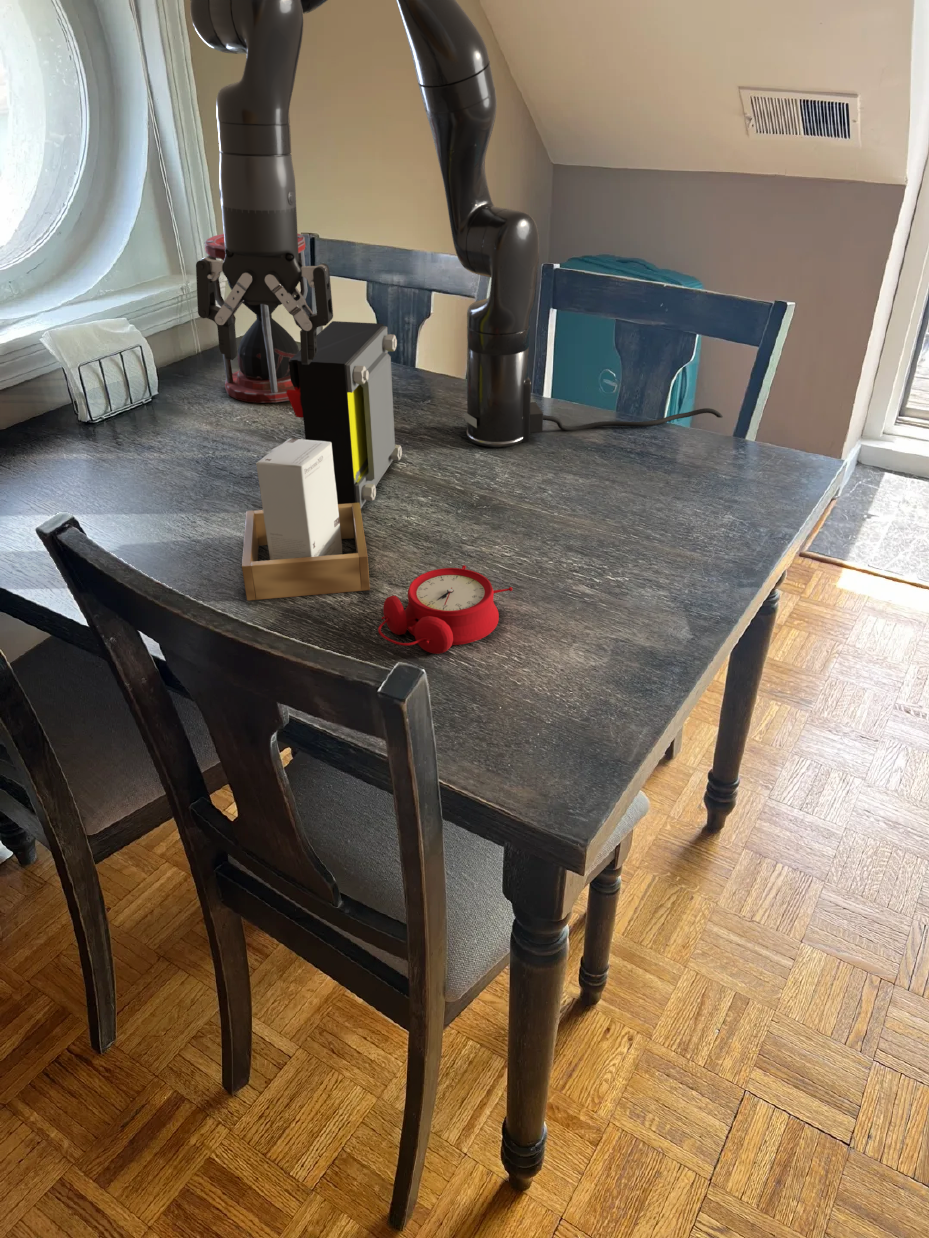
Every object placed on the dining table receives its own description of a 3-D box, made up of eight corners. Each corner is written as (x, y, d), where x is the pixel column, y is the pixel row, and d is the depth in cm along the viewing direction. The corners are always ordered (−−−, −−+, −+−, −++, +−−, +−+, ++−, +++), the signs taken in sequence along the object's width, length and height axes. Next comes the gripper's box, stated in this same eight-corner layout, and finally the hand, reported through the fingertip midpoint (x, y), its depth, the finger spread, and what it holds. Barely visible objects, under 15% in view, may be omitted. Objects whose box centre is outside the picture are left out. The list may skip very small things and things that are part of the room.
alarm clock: (525, 586, 102) (430, 614, 92) (516, 638, 105) (421, 671, 94) (456, 554, 108) (358, 577, 98) (448, 604, 111) (352, 631, 100)
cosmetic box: (315, 586, 110) (302, 468, 102) (269, 578, 111) (252, 462, 103) (344, 552, 116) (334, 439, 108) (300, 546, 118) (287, 434, 110)
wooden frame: (361, 534, 121) (359, 502, 118) (370, 590, 109) (367, 556, 107) (250, 542, 119) (246, 510, 116) (247, 600, 107) (241, 566, 105)
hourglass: (224, 377, 172) (203, 231, 158) (313, 370, 175) (299, 226, 162) (227, 407, 159) (204, 252, 145) (323, 399, 162) (309, 246, 148)
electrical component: (371, 512, 126) (361, 364, 115) (299, 506, 128) (282, 360, 117) (404, 460, 140) (398, 324, 129) (339, 455, 142) (327, 321, 131)
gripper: (335, 201, 99) (339, 356, 107) (202, 193, 100) (216, 347, 108) (319, 211, 93) (324, 374, 101) (177, 202, 93) (194, 365, 102)
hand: (268, 360), depth 104 cm, fingers open, 8 cm apart
